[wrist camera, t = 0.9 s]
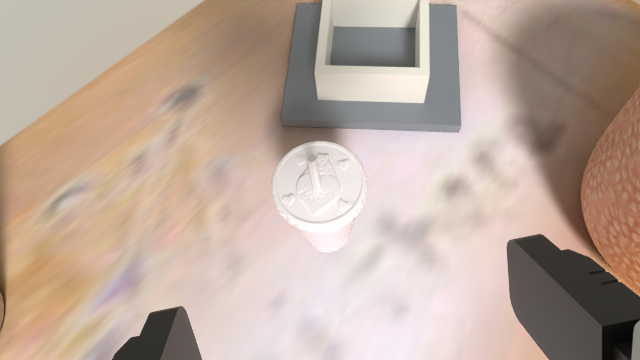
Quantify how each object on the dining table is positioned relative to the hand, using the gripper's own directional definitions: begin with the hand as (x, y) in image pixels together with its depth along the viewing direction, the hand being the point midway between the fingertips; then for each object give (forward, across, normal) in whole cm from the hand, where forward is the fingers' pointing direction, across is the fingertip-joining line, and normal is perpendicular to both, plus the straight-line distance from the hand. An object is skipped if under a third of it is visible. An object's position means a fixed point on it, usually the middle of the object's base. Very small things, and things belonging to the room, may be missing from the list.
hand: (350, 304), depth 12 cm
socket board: (+38, -7, -1) cm, 39 cm away
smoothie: (+27, 0, +11) cm, 29 cm away
